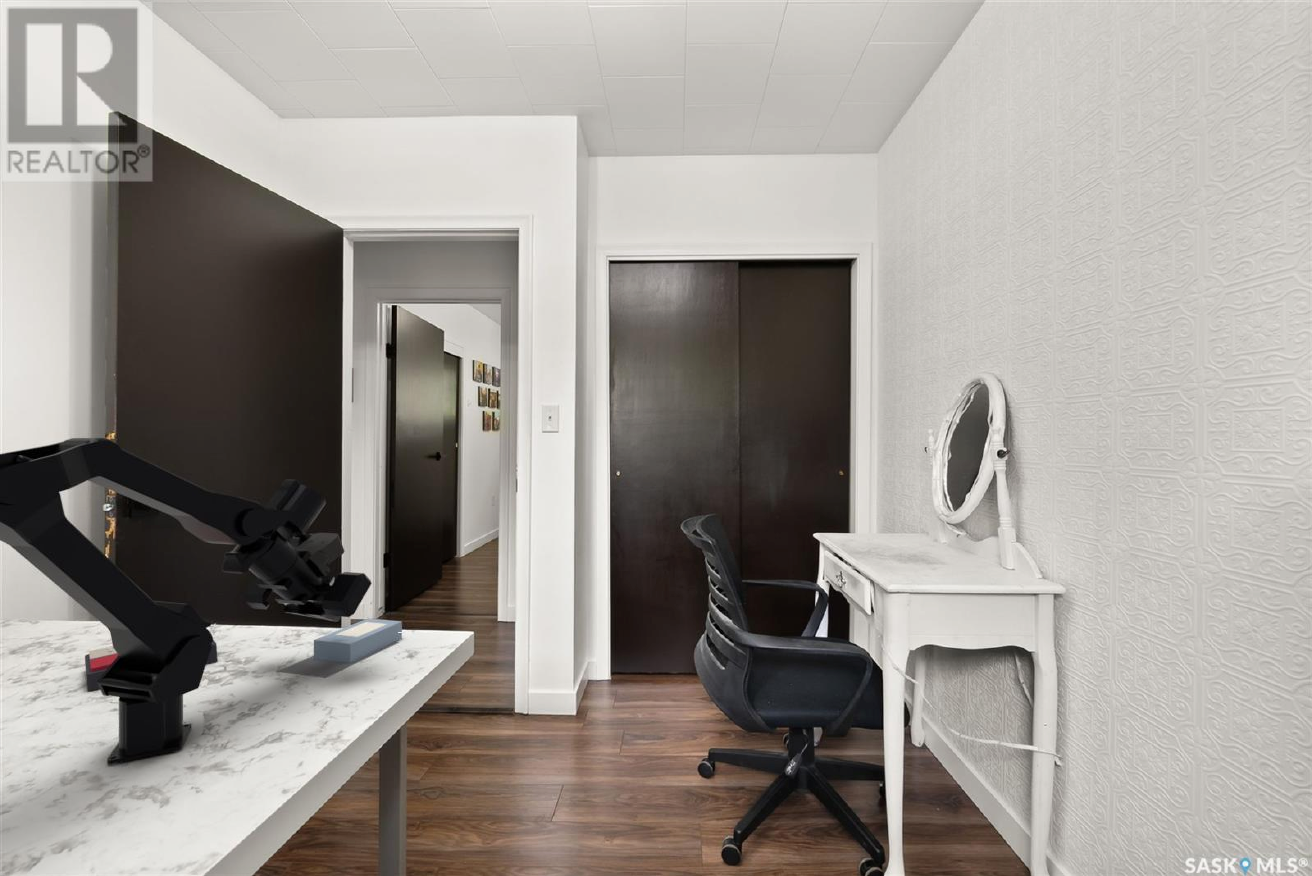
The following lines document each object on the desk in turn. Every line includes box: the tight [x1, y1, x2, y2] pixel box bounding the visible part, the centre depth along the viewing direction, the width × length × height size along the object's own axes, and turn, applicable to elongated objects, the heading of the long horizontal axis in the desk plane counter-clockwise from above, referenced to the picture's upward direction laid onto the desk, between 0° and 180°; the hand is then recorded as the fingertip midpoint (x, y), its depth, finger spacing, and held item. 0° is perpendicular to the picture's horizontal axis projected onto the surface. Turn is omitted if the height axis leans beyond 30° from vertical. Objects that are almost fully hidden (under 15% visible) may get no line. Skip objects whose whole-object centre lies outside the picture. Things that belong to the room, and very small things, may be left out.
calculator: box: [84, 640, 218, 693], centre depth 94 cm, size 11×4×15 cm
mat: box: [276, 641, 400, 679], centre depth 98 cm, size 16×9×1 cm, turn 165°
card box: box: [313, 617, 403, 663], centre depth 102 cm, size 3×7×12 cm
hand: (338, 618), depth 97 cm, fingers closed
